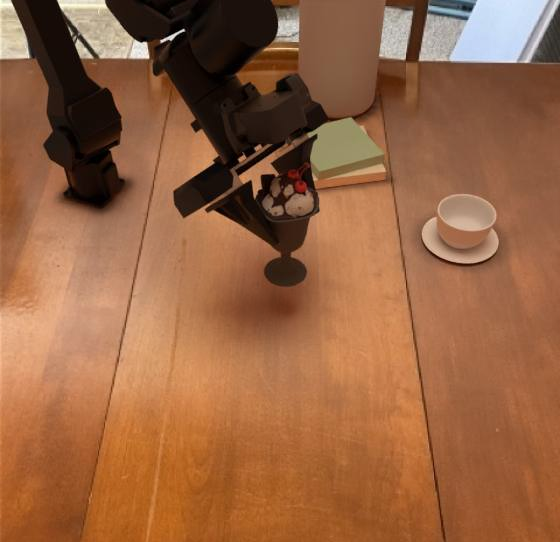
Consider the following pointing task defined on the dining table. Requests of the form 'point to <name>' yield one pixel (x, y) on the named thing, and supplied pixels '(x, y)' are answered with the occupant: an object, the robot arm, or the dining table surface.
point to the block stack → (345, 155)
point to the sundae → (287, 222)
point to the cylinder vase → (340, 53)
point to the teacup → (462, 229)
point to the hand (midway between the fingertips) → (296, 228)
